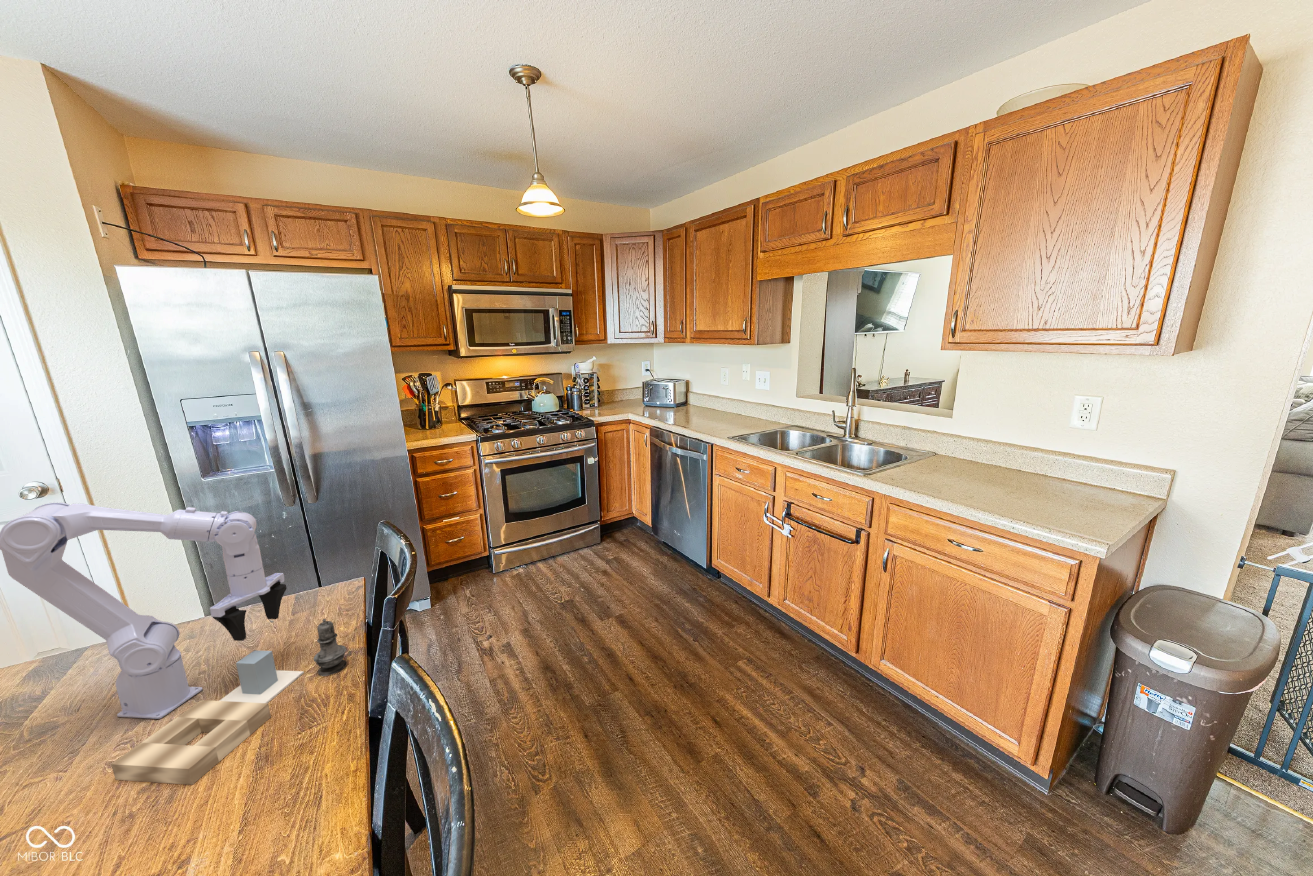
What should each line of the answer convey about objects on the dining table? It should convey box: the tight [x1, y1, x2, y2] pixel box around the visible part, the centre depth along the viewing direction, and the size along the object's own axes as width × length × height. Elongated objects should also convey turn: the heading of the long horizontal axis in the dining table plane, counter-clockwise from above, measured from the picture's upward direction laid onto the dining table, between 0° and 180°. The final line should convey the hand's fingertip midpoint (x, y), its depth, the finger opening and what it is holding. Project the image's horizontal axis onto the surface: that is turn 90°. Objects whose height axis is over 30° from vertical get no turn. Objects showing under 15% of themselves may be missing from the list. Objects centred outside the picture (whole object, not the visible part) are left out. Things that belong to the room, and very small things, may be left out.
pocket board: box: [110, 699, 272, 786], centre depth 82 cm, size 14×14×3 cm
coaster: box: [219, 669, 305, 704], centre depth 96 cm, size 10×10×1 cm
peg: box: [235, 649, 278, 694], centre depth 95 cm, size 4×4×7 cm
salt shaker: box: [313, 618, 348, 677], centre depth 101 cm, size 6×6×12 cm
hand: (257, 628), depth 99 cm, fingers open, 7 cm apart
